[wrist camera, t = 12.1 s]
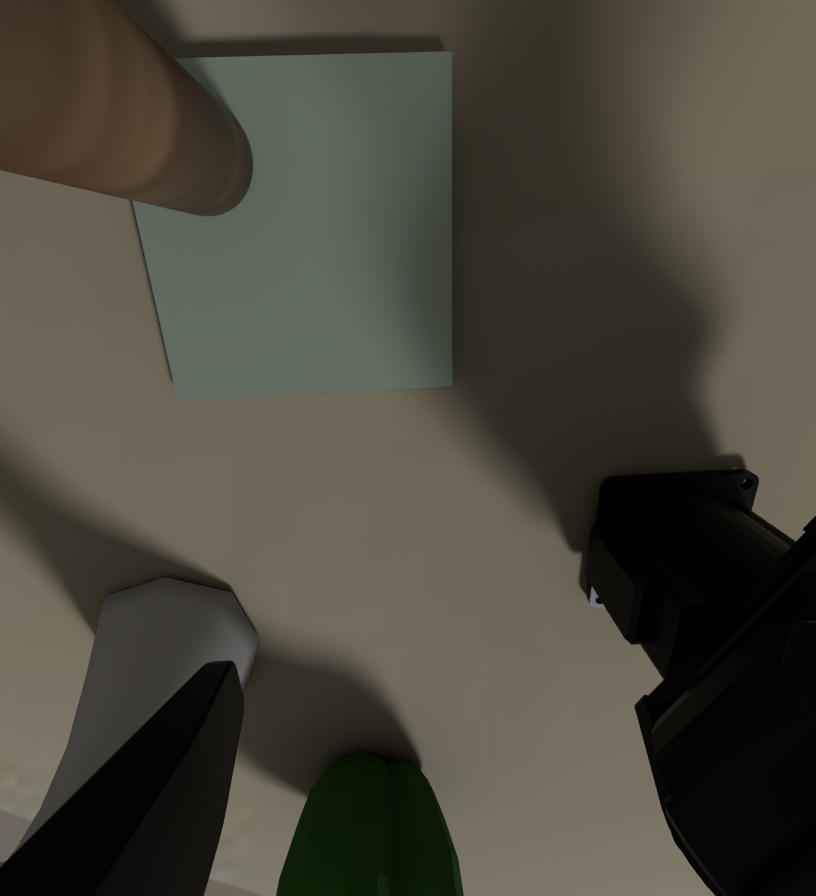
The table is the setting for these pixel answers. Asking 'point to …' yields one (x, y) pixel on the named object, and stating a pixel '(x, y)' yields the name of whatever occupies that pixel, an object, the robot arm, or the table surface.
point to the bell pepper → (371, 835)
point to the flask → (144, 670)
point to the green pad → (316, 233)
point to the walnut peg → (112, 111)
